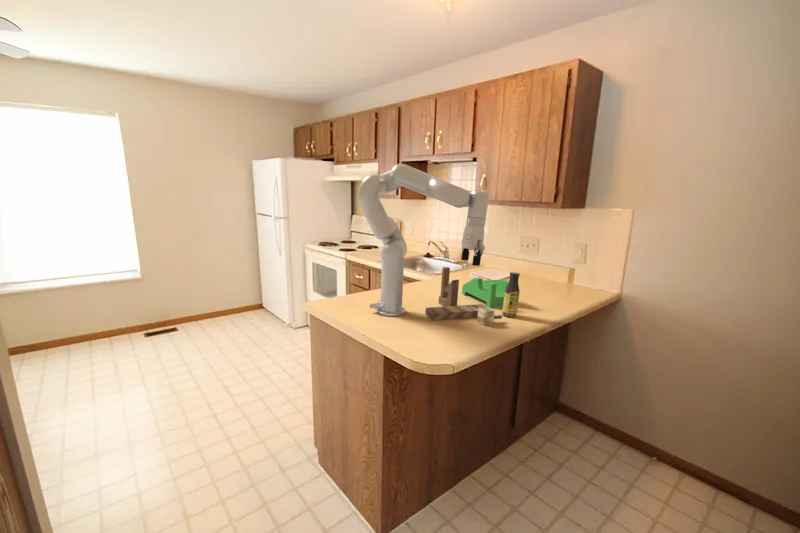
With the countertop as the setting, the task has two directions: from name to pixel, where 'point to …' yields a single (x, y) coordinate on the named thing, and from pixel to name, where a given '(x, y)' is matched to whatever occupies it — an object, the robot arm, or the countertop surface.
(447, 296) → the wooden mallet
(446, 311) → the walnut board
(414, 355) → the countertop surface
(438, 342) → the countertop surface
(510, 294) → the sauce bottle
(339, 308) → the countertop surface
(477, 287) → the green cradle stand
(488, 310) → the block
